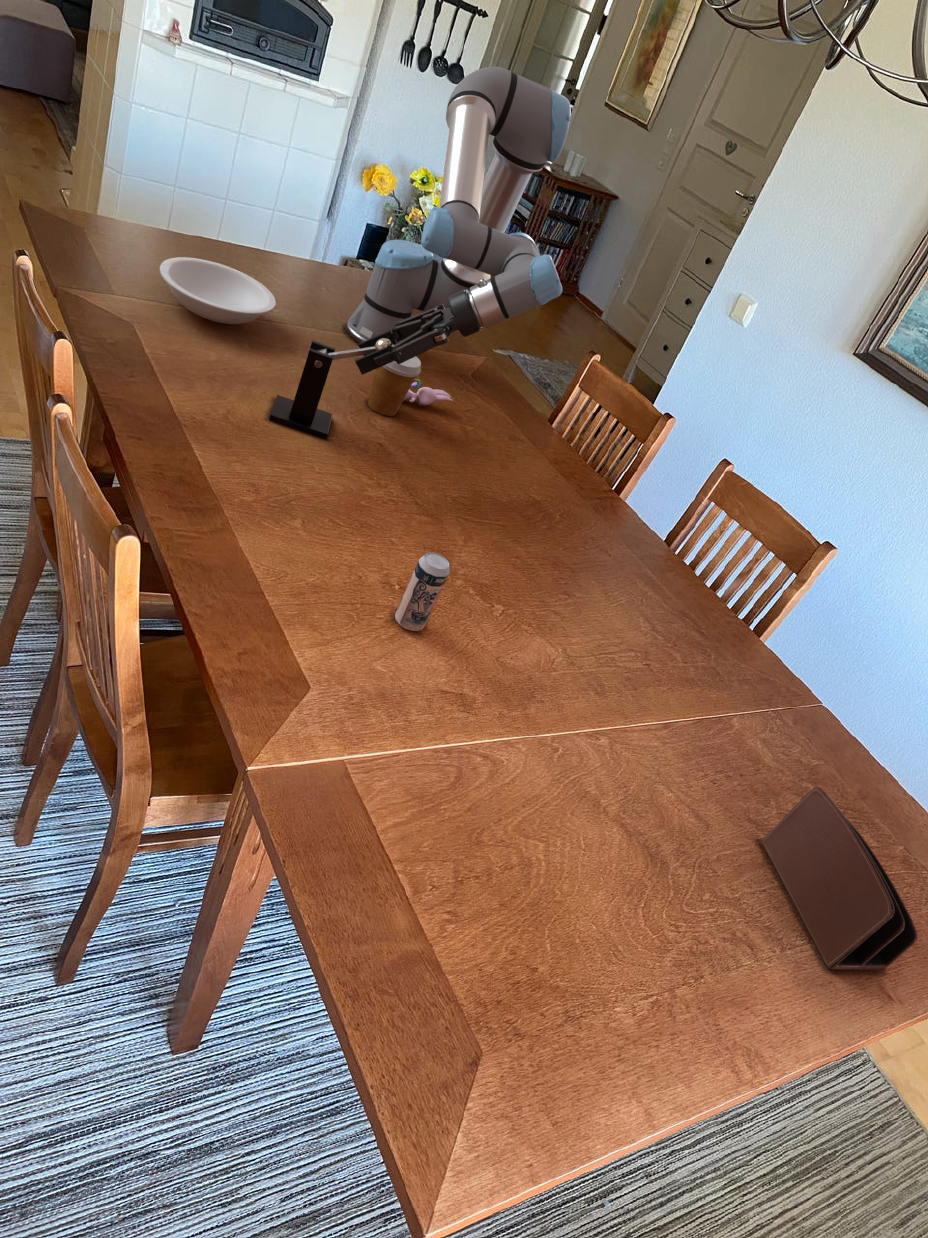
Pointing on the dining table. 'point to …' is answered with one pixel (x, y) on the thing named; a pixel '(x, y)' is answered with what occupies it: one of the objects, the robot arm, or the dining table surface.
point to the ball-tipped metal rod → (359, 350)
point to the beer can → (422, 591)
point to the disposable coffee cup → (392, 385)
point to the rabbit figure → (426, 394)
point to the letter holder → (839, 887)
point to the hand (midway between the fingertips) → (360, 358)
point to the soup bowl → (216, 290)
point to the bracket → (307, 396)
